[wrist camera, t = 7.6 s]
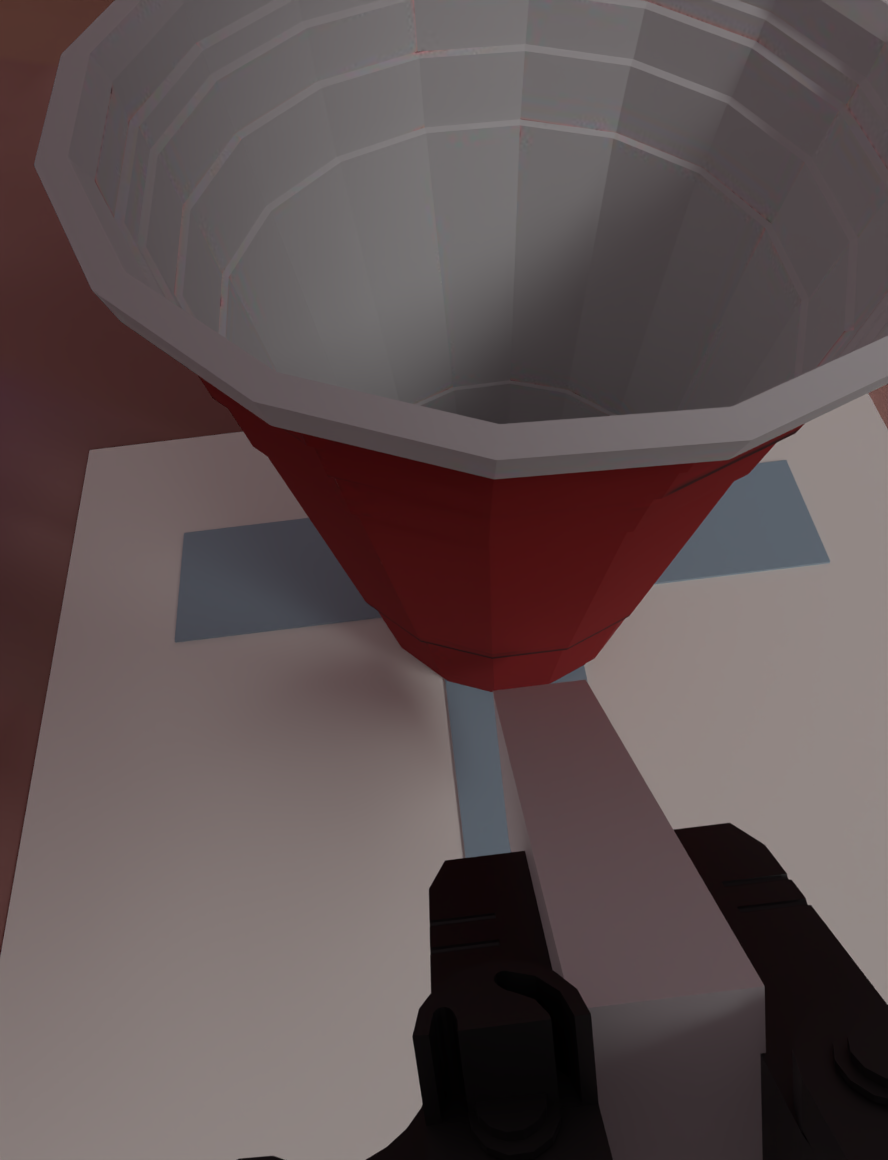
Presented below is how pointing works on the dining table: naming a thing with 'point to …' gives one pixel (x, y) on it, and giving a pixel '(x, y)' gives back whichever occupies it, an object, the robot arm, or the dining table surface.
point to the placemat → (379, 789)
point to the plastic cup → (492, 272)
